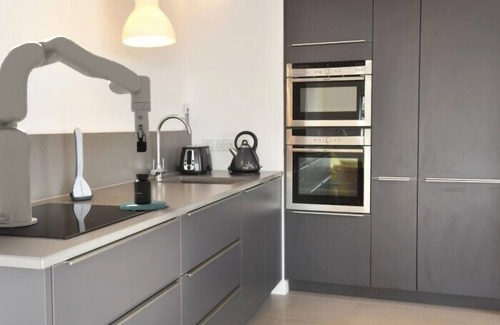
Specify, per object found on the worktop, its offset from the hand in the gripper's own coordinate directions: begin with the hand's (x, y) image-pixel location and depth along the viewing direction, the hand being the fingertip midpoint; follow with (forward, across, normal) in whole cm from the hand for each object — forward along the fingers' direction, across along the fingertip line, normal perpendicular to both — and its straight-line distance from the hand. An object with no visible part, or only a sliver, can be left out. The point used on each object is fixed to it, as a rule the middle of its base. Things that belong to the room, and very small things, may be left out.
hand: (141, 151), depth 197 cm
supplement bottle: (+21, 0, 0) cm, 21 cm away
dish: (+22, 0, 0) cm, 22 cm away
